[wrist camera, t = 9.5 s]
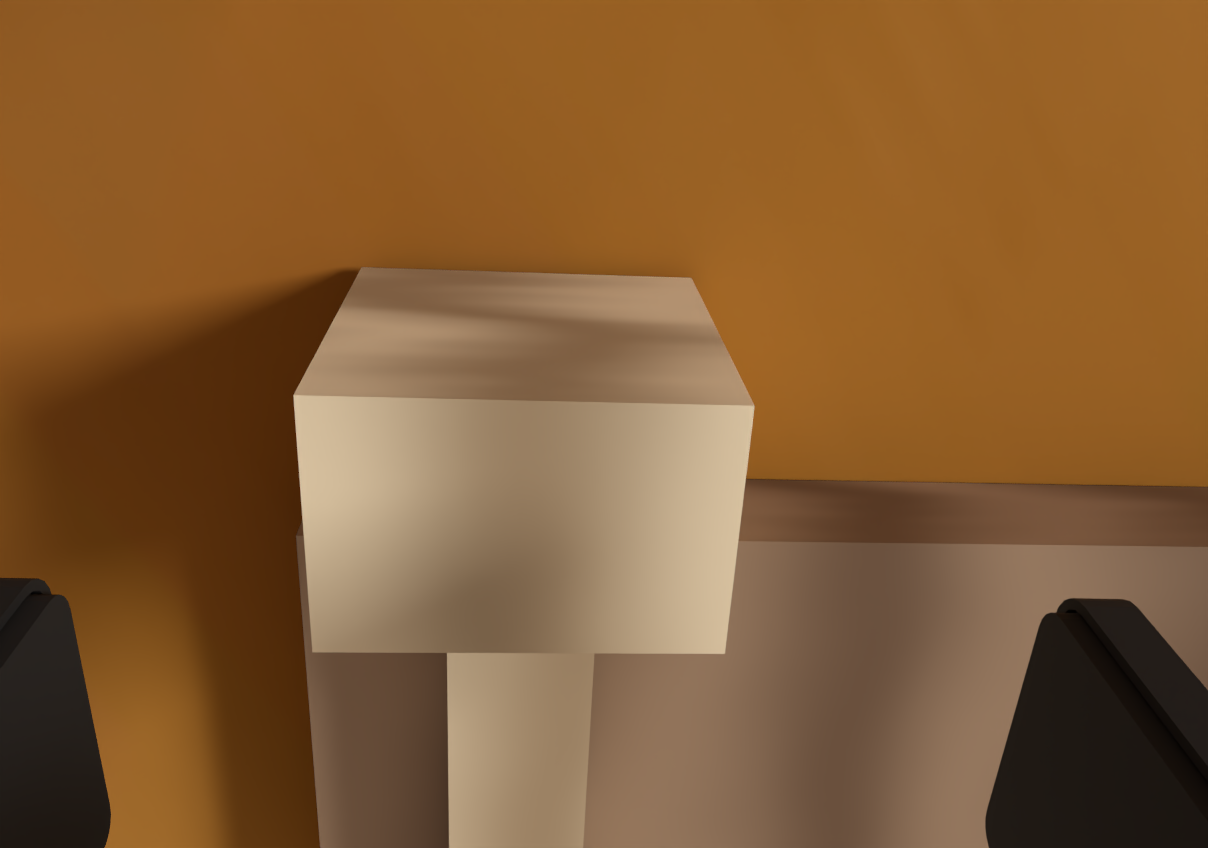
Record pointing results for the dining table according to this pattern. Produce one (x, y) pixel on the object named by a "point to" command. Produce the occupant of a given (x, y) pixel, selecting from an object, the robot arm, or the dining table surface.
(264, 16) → the dining table surface
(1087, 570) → the walnut board
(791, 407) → the dining table surface
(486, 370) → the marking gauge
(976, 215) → the dining table surface
